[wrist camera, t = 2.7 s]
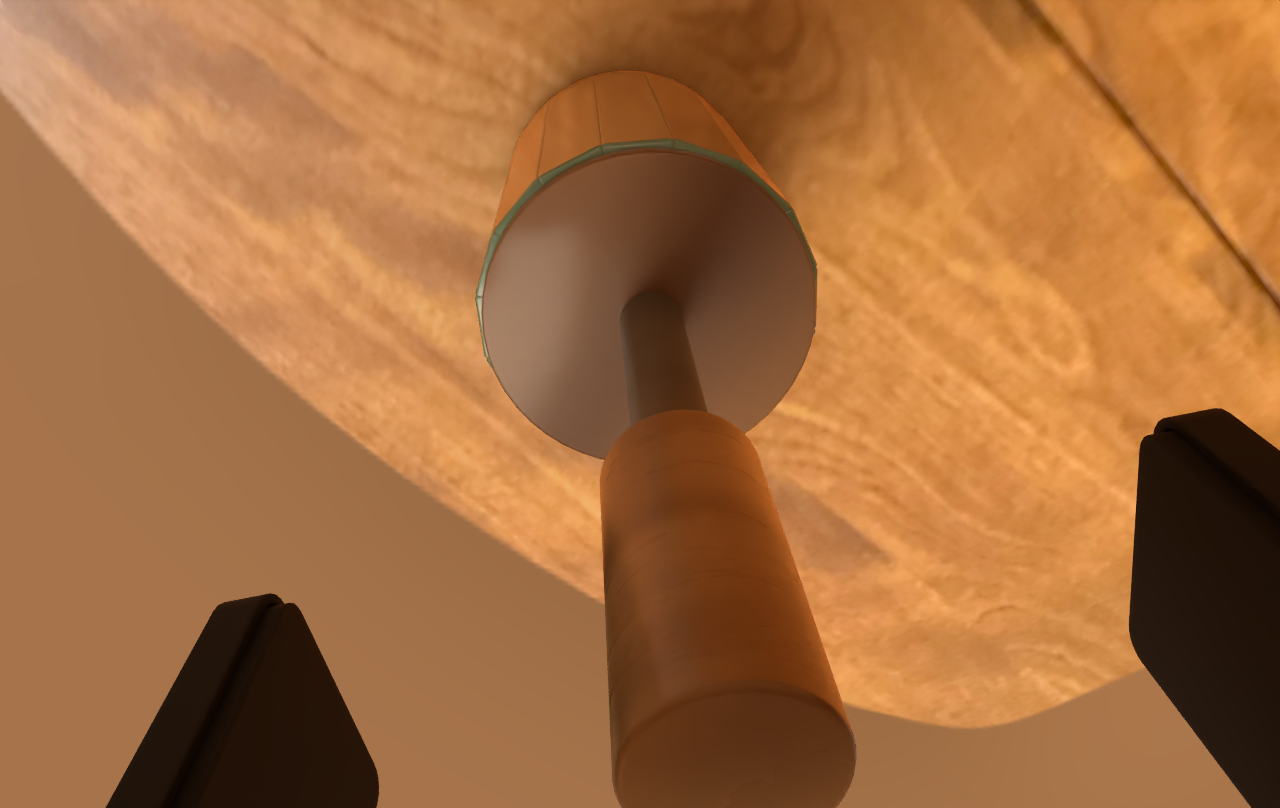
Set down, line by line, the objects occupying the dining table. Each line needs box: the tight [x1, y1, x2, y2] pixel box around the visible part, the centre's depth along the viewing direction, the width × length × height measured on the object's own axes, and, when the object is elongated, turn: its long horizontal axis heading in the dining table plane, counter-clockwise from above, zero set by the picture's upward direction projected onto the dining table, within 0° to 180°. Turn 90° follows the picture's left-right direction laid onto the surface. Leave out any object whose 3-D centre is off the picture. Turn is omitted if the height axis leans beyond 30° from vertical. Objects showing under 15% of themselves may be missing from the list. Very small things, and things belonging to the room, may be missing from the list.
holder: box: [475, 70, 817, 371], centre depth 22 cm, size 7×7×9 cm
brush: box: [481, 147, 856, 808], centre depth 17 cm, size 6×6×19 cm
